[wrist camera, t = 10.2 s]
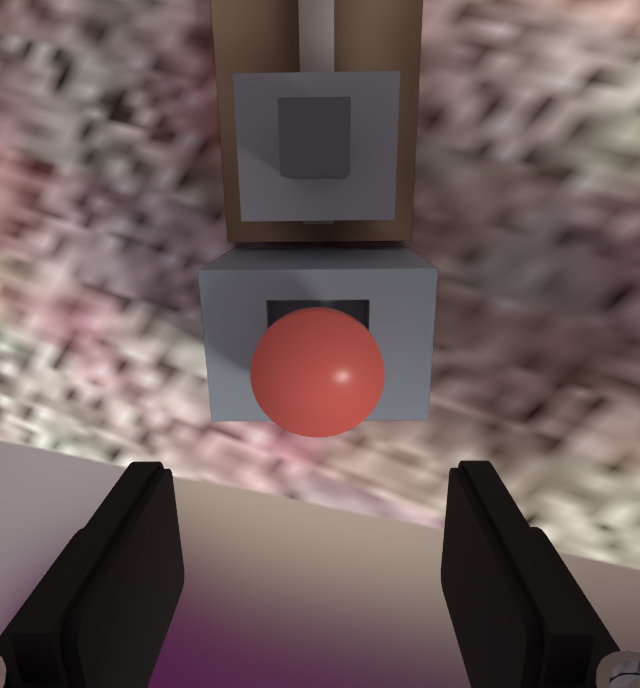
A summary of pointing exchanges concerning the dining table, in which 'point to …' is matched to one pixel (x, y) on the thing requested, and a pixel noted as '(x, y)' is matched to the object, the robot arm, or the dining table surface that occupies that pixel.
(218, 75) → the board
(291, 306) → the end cabinet
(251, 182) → the carriage
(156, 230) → the dining table surface
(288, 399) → the button
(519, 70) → the dining table surface
